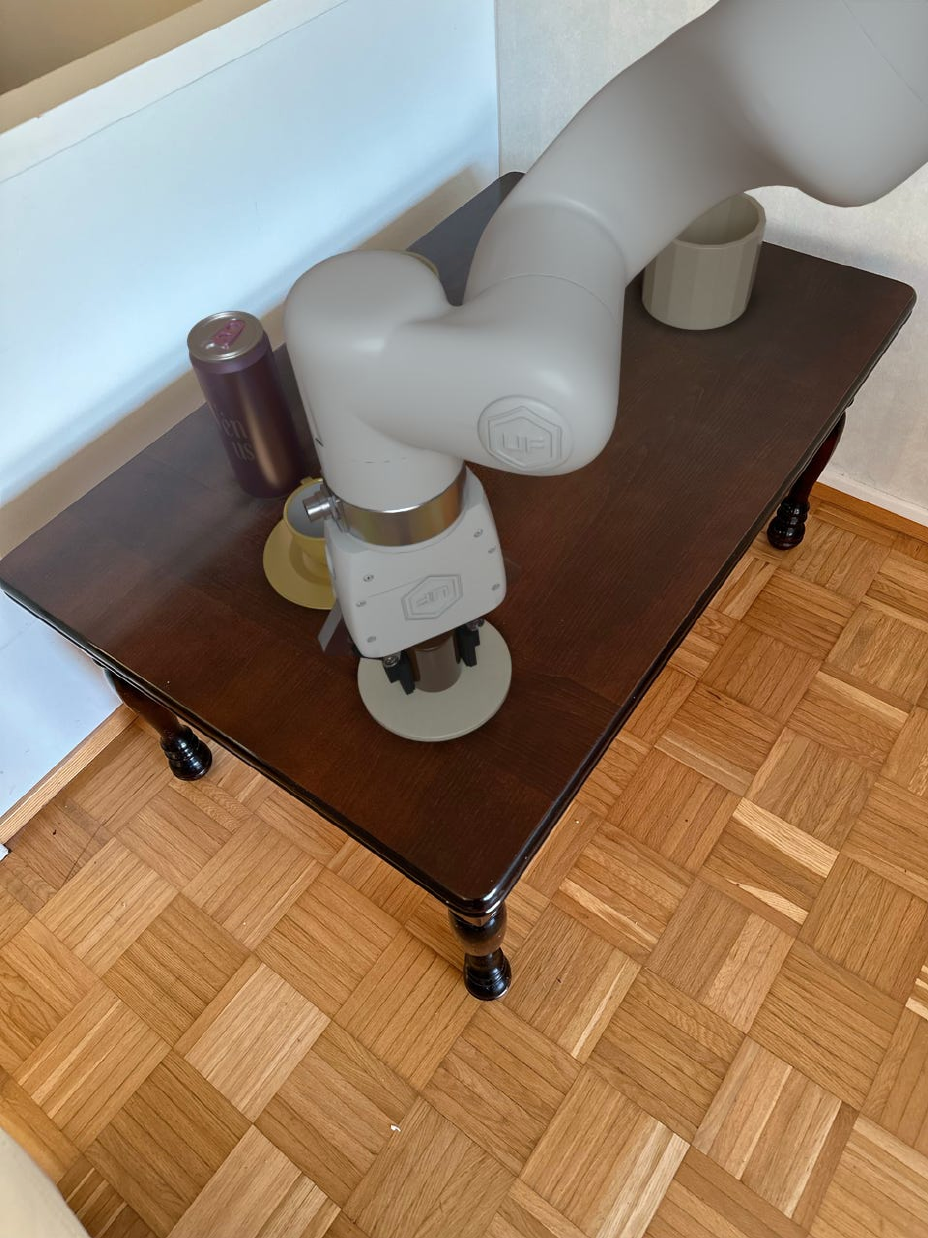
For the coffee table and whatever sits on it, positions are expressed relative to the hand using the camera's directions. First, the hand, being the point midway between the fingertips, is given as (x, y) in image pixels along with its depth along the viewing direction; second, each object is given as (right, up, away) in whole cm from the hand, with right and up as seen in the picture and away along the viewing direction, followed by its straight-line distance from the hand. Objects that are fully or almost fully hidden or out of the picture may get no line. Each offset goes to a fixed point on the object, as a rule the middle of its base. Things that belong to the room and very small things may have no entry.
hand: (433, 663), depth 64 cm
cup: (-8, +8, +9) cm, 15 cm away
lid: (0, -1, +1) cm, 1 cm away
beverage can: (-14, +15, +15) cm, 25 cm away
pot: (+25, +35, +25) cm, 49 cm away
